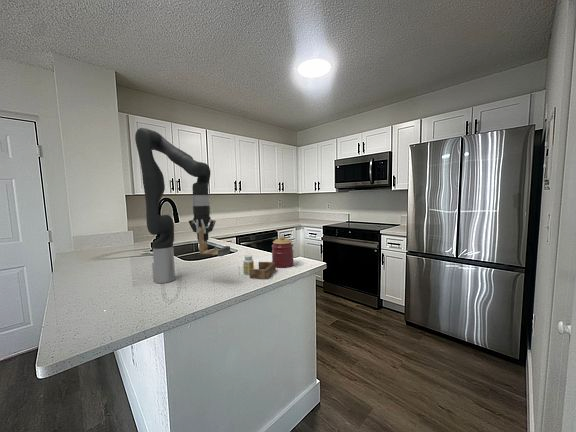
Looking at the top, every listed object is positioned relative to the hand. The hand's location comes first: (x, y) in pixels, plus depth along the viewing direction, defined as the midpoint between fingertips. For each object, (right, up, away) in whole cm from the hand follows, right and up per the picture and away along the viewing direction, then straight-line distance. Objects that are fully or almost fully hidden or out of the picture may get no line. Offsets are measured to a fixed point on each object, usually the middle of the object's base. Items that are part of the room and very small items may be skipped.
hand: (203, 240), depth 118 cm
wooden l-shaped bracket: (+5, -6, -1) cm, 8 cm away
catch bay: (+28, -19, +13) cm, 36 cm away
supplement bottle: (+20, -19, +15) cm, 32 cm away
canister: (+38, -18, +29) cm, 51 cm away
